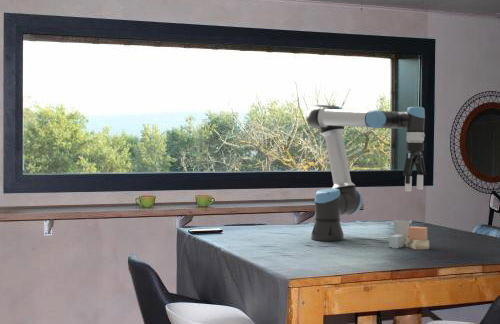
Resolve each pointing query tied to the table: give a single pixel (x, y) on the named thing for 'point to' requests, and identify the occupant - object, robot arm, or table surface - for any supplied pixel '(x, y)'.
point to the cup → (401, 228)
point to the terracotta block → (417, 233)
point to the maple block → (417, 243)
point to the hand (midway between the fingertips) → (414, 190)
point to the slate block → (396, 241)
